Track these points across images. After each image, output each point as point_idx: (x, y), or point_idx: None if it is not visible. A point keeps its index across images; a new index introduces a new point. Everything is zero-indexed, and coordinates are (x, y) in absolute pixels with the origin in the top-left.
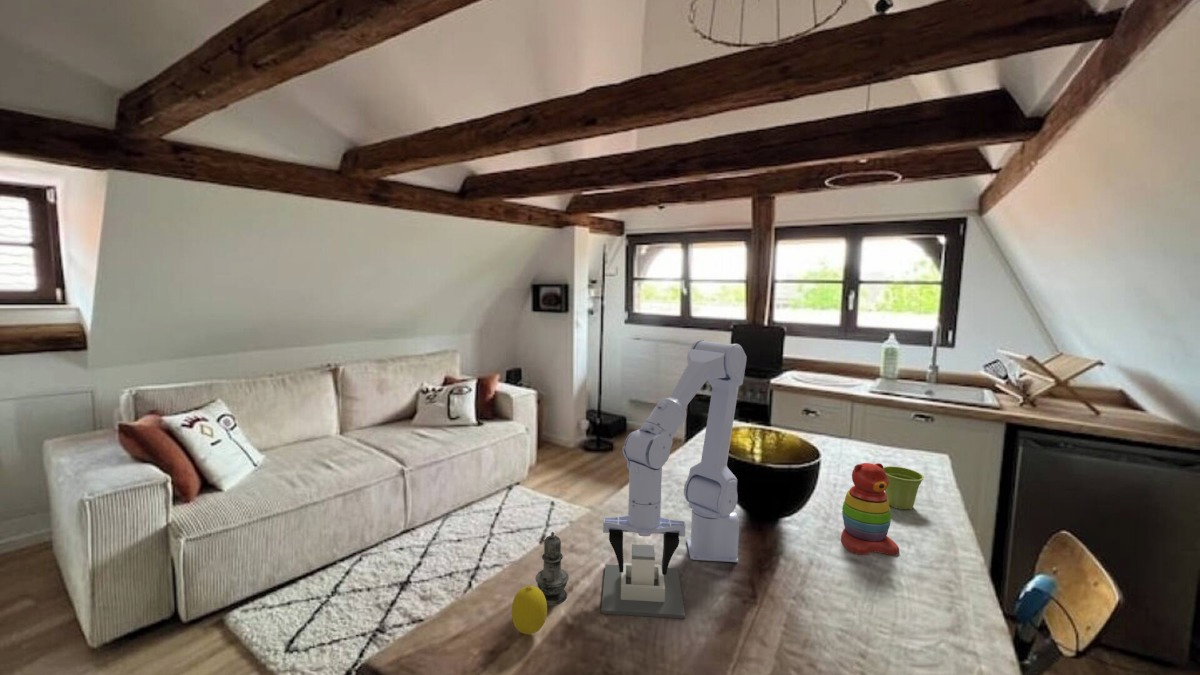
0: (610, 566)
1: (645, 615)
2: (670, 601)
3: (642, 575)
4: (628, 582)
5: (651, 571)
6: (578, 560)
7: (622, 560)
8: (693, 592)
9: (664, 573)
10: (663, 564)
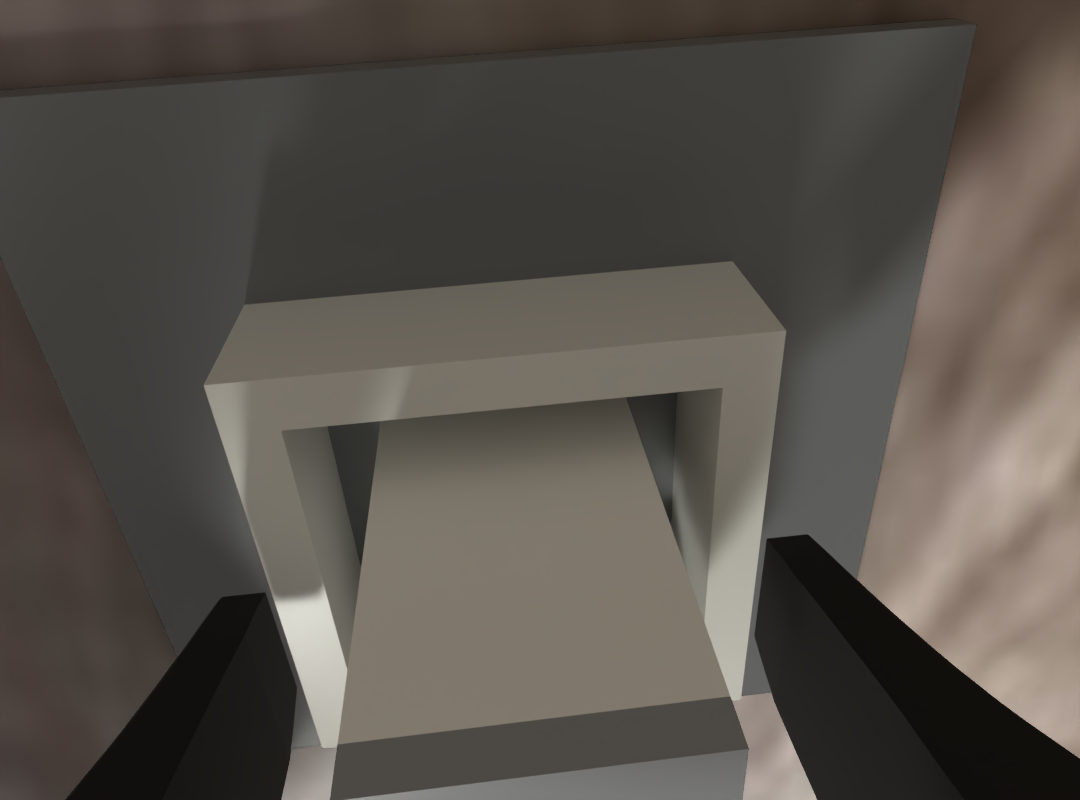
0: None
1: (438, 58)
2: (179, 325)
3: (521, 526)
4: None
5: (400, 584)
6: (1024, 690)
7: (864, 656)
8: (8, 525)
9: (232, 605)
10: (215, 710)
